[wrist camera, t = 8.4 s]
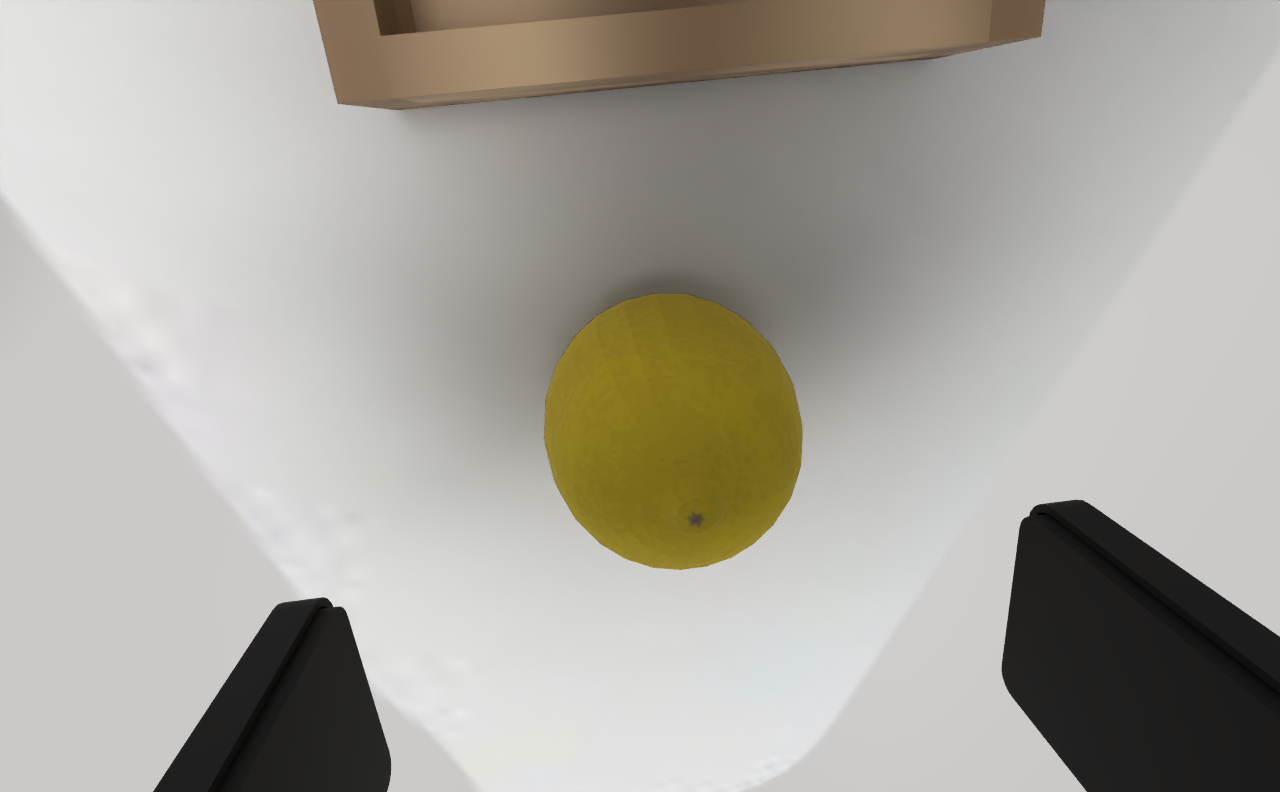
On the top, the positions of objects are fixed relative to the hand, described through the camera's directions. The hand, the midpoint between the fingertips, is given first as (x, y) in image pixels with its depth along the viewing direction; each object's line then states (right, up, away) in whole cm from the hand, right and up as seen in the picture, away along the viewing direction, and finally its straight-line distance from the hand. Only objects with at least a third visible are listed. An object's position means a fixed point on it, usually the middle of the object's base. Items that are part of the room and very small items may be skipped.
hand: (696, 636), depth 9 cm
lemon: (0, +4, +9) cm, 10 cm away
